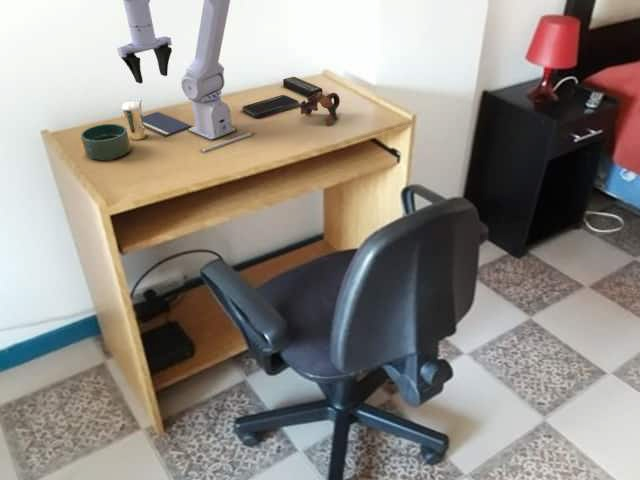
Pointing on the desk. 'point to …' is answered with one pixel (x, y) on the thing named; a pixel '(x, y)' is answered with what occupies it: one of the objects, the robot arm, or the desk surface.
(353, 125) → the desk surface
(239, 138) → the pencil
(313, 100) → the brown looped figurine
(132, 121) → the milkshake
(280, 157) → the desk surface
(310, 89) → the multiport hub
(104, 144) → the bowl
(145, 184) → the desk surface
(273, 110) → the phone
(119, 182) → the desk surface
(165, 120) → the blue notebook
